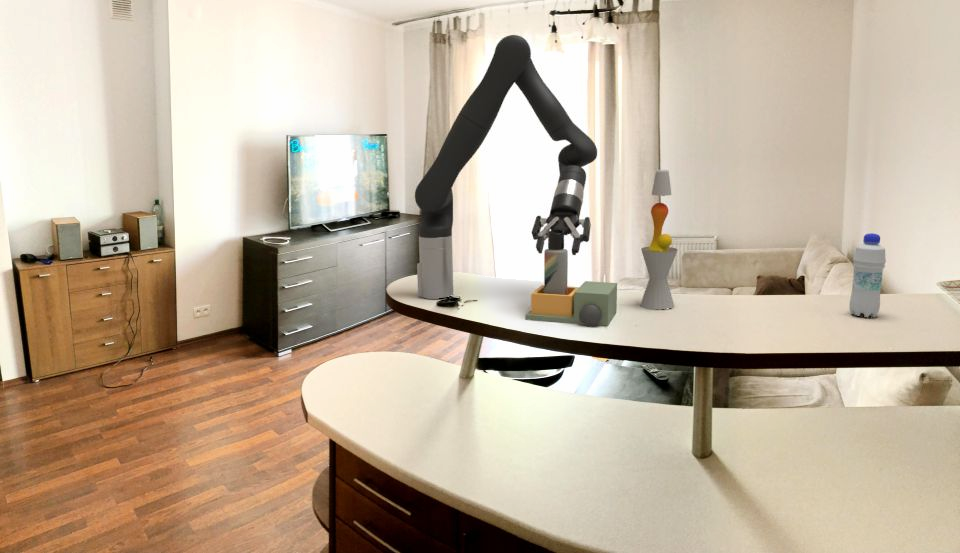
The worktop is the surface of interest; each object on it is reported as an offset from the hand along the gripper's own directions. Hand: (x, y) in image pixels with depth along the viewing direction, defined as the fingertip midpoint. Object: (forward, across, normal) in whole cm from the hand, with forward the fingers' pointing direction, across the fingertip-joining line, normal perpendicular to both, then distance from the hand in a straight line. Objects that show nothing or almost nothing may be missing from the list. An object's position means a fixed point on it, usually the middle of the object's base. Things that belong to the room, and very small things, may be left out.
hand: (556, 252), depth 161 cm
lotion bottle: (+10, 0, +10) cm, 15 cm away
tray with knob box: (+11, +4, +11) cm, 16 cm away
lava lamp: (0, +23, +23) cm, 32 cm away
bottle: (-3, +71, +26) cm, 76 cm away
